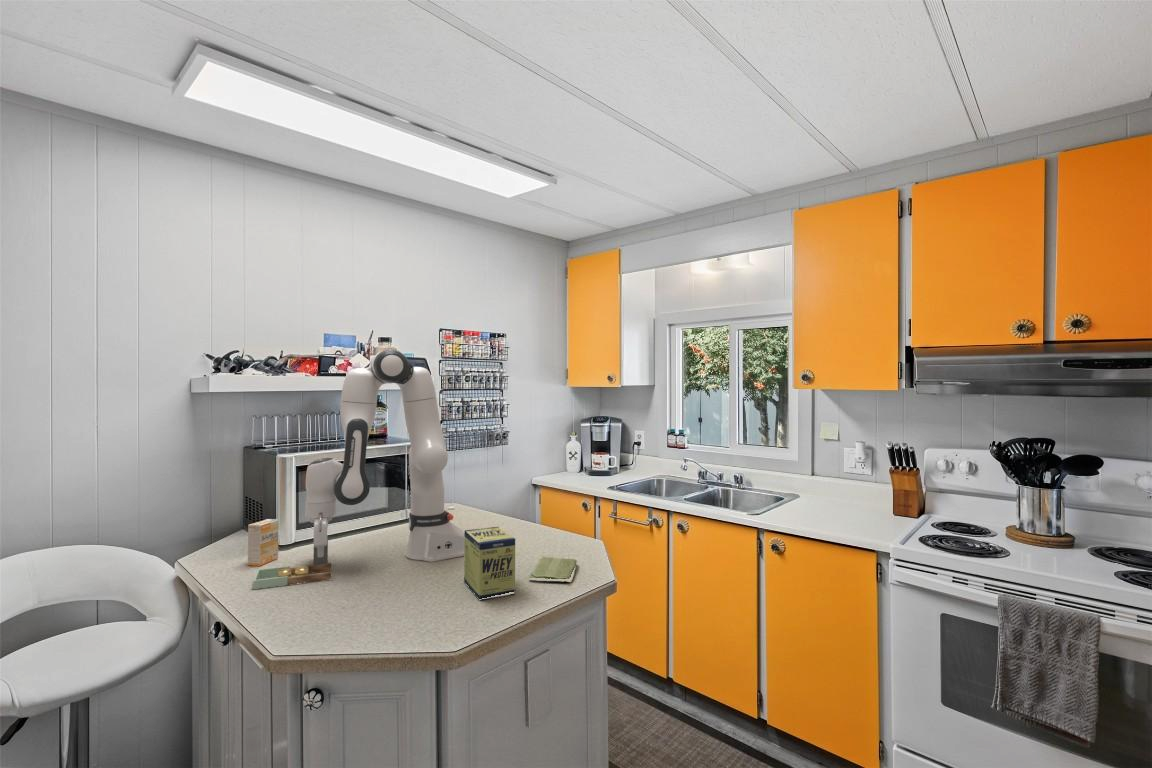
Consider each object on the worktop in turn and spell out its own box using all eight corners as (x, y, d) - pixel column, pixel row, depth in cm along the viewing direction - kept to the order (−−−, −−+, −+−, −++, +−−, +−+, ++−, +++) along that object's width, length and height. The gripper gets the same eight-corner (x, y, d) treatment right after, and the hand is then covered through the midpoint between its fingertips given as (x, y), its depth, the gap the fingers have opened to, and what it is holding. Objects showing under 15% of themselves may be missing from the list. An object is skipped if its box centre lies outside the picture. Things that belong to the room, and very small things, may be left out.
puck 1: (291, 577, 165) (291, 567, 165) (291, 581, 162) (291, 571, 162) (278, 579, 164) (278, 569, 164) (277, 583, 160) (277, 572, 160)
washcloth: (527, 584, 162) (527, 573, 162) (539, 564, 179) (539, 554, 179) (571, 586, 160) (571, 575, 160) (579, 566, 178) (579, 556, 178)
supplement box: (260, 566, 174) (260, 525, 174) (247, 565, 175) (247, 524, 175) (279, 558, 182) (279, 519, 182) (266, 557, 183) (266, 518, 183)
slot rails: (331, 569, 172) (331, 562, 172) (331, 579, 163) (331, 572, 163) (289, 574, 168) (289, 567, 168) (287, 585, 158) (287, 578, 158)
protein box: (479, 601, 148) (479, 543, 148) (463, 582, 161) (463, 529, 161) (516, 594, 152) (516, 538, 152) (497, 577, 166) (497, 525, 166)
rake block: (327, 563, 178) (327, 535, 178) (327, 568, 173) (327, 539, 173) (314, 564, 176) (314, 536, 176) (313, 570, 171) (313, 541, 171)
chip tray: (289, 574, 168) (289, 566, 168) (287, 585, 158) (287, 576, 158) (257, 578, 164) (257, 569, 164) (253, 589, 155) (253, 580, 155)
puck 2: (308, 575, 167) (308, 565, 167) (308, 579, 164) (308, 569, 164) (295, 577, 165) (295, 567, 165) (294, 581, 162) (294, 570, 162)
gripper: (331, 516, 166) (331, 562, 166) (331, 502, 185) (331, 543, 185) (308, 518, 164) (308, 564, 164) (310, 504, 183) (310, 546, 183)
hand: (320, 553), depth 175 cm, fingers closed on rake block, 5 cm apart
